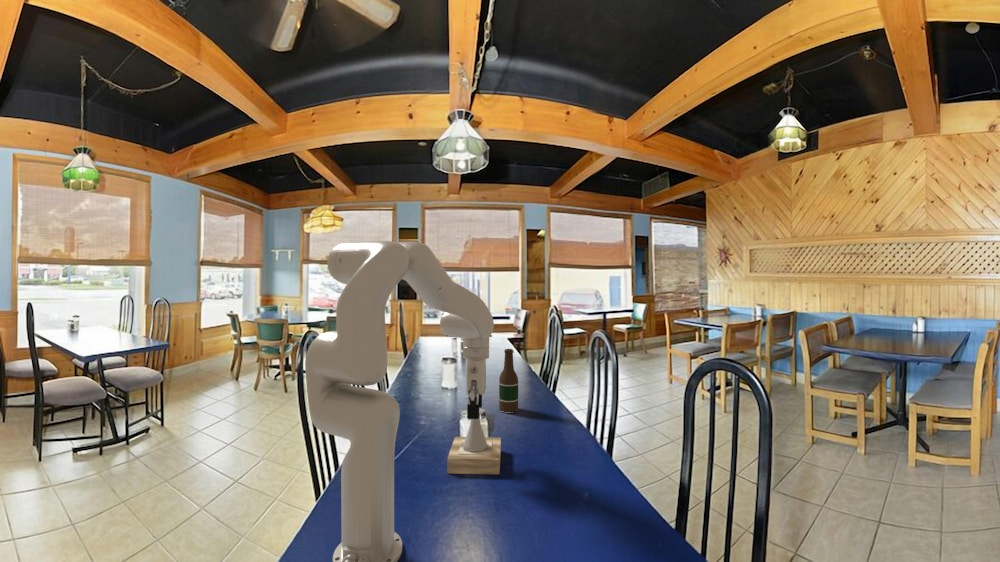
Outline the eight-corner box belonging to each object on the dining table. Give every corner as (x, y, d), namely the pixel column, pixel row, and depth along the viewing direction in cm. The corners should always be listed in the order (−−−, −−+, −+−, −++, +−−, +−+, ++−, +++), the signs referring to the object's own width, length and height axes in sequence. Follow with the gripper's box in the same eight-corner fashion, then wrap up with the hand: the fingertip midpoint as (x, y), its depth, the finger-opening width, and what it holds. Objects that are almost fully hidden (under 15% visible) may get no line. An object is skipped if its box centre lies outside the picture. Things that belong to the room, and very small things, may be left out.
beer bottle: (496, 412, 151) (496, 350, 151) (501, 406, 159) (502, 347, 158) (515, 414, 149) (516, 352, 149) (520, 408, 157) (520, 348, 156)
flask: (484, 454, 108) (484, 417, 108) (459, 451, 109) (459, 415, 109) (490, 442, 115) (490, 409, 115) (466, 440, 116) (466, 407, 116)
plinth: (499, 474, 105) (499, 458, 105) (447, 473, 106) (447, 457, 105) (500, 450, 119) (500, 437, 119) (454, 449, 120) (454, 436, 119)
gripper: (487, 358, 103) (486, 424, 103) (490, 347, 120) (489, 403, 120) (458, 357, 103) (457, 423, 103) (466, 347, 120) (465, 403, 120)
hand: (474, 412), depth 111 cm, fingers open, 9 cm apart
